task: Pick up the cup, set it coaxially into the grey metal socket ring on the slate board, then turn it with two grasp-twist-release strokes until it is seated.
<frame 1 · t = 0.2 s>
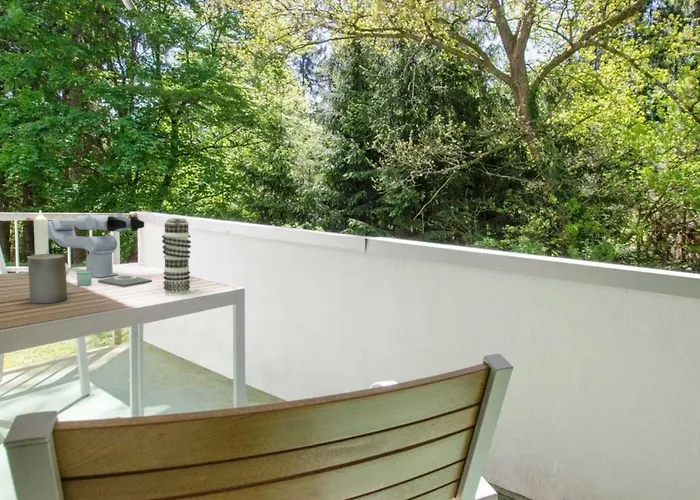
hand: (134, 224, 183), 21 cm above the table, tool horizontal, fingers open, 7 cm apart
cup: (84, 285, 175), on the table
pillar candle: (48, 301, 151), on the table
lightbulb: (57, 295, 158), on the table
decorative candle: (176, 292, 170), on the table
candle: (42, 275, 190), on the table
socket board: (125, 282, 183), on the table
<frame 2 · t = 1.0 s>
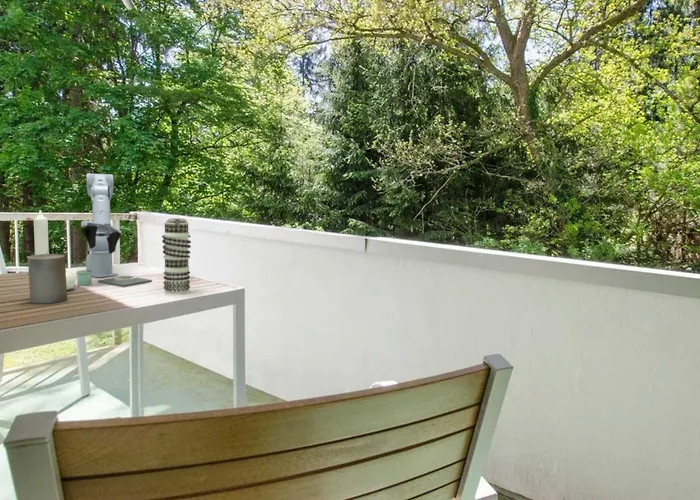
hand: (102, 249, 174), 13 cm above the table, tool tilted 30°, fingers open, 7 cm apart
lightbulb: (57, 291, 158), point 1 cm above the table
everything else where it was.
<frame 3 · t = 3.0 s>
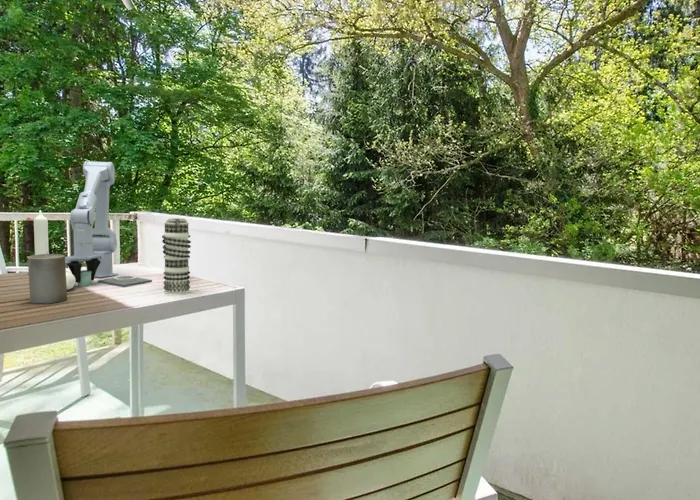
hand: (84, 281, 175), 1 cm above the table, tool pointing down, fingers closed on cup, 5 cm apart
cup: (84, 285, 175), on the table, touching gripper
everything else where it was.
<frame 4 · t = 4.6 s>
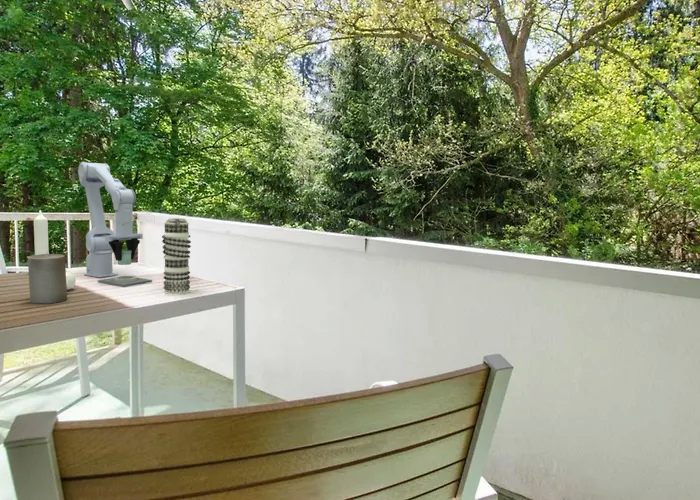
hand: (124, 259, 182), 8 cm above the table, tool pointing down, fingers closed on cup, 5 cm apart
cup: (124, 264, 182), point 7 cm above the table, touching gripper
everything else where it was.
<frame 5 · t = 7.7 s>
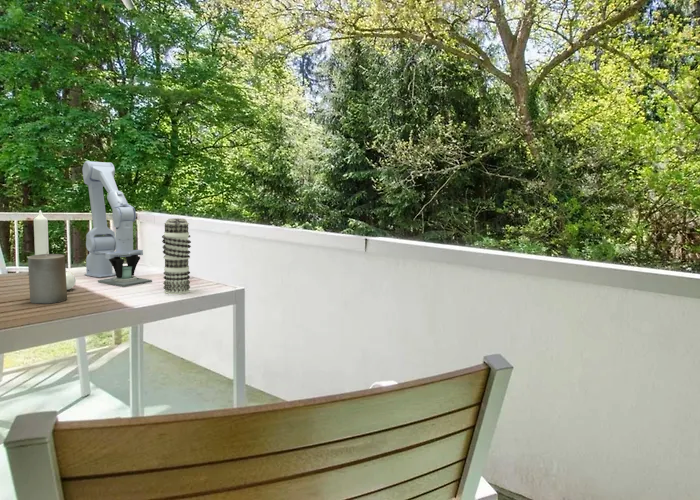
hand: (125, 276, 182), 2 cm above the table, tool pointing down, fingers closed on cup, 5 cm apart
cup: (124, 280, 182), point 1 cm above the table, touching gripper, socket board
everything else where it was.
when the fingers open (2 cm above the table, at t = 9.1 s): cup stays where it is, resting on socket board.
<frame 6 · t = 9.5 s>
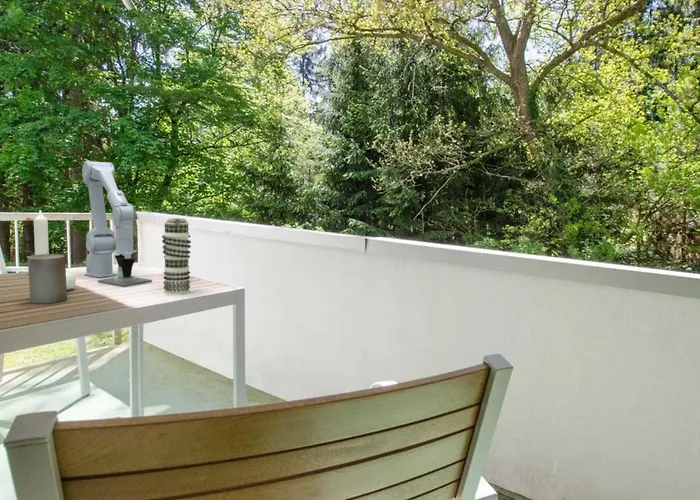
hand: (125, 275, 182), 2 cm above the table, tool pointing down, fingers open, 7 cm apart
cup: (125, 280, 182), point 1 cm above the table, touching socket board
everything else where it was.
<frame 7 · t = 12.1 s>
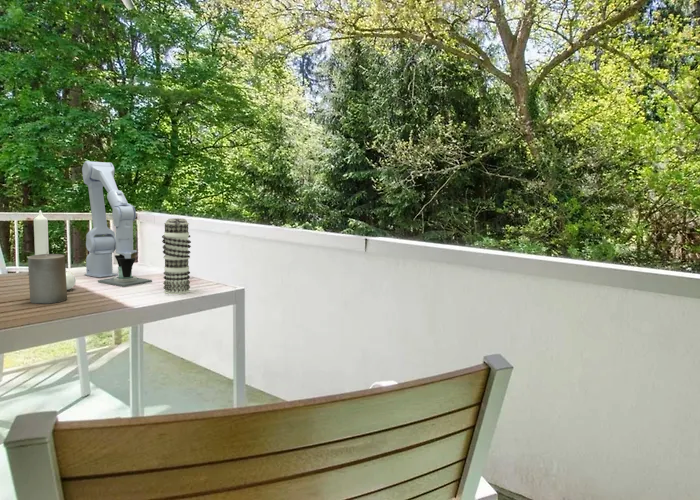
hand: (125, 275, 182), 2 cm above the table, tool pointing down, fingers open, 7 cm apart
nothing on the table moved.
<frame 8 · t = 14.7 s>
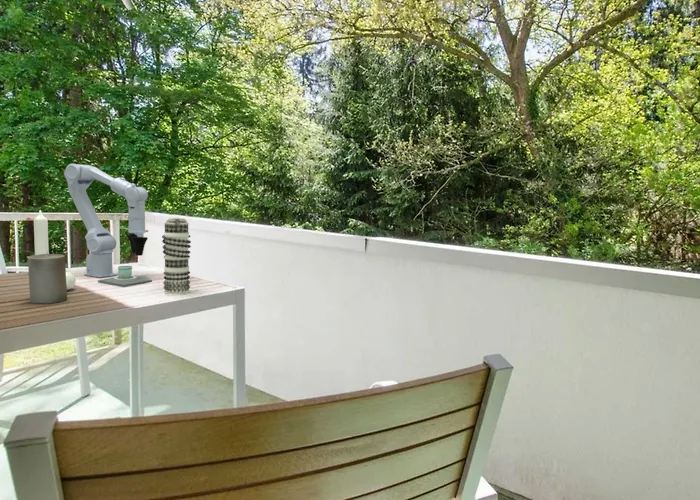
hand: (137, 254, 190), 9 cm above the table, tool pointing down, fingers open, 7 cm apart
nothing on the table moved.
at the end: cup 0.0 cm off-centre on the socket board, point 0.8 cm above the socket board's base; cup tilted 0°; the gripper is holding nothing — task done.
